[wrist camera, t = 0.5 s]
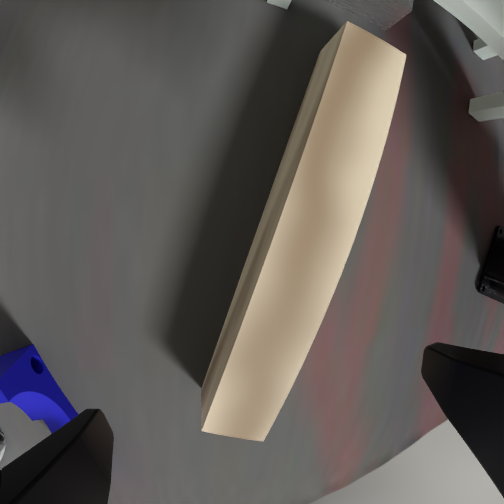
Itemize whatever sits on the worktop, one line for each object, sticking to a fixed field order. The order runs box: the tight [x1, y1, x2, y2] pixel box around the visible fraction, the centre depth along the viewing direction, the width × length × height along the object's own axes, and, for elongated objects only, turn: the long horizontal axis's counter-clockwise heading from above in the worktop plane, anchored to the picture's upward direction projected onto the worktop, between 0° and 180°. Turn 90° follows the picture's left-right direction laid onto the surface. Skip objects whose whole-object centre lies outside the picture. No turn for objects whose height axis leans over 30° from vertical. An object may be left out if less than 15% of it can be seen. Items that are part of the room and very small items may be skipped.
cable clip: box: [0, 344, 78, 433], centre depth 17 cm, size 12×4×6 cm, turn 19°
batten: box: [201, 21, 406, 441], centre depth 17 cm, size 4×25×5 cm, turn 160°
